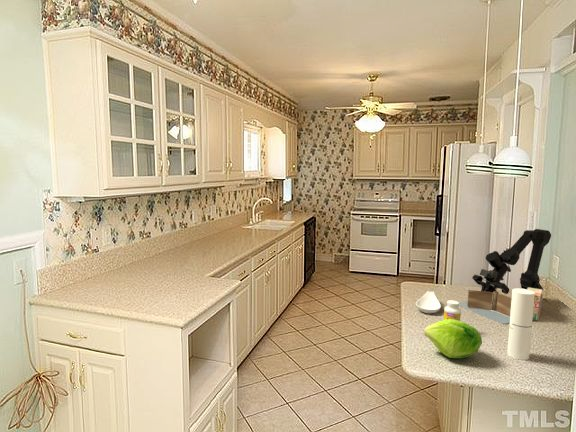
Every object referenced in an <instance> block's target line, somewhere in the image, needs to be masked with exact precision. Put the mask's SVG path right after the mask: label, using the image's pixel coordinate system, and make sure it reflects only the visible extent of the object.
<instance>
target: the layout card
mask: <svg viewBox="0 0 576 432" xmlns="http://www.w3.org/2000/svg"><path fill="white" fill-rule="evenodd" d="M467 303H468V301H463V302H459V306H460V307H462V308H464V309H466V310H469V311H472V312H474V313H476V314H477V315H481V316H483V317H485V318H487V319H490V320H492V321H494V322H497V323H499V324H501V325H507V324H508V325H509V324H510V317H509V316H506V315H504V314H501V313H499V312H496V311H493V310H492V309H483V308H473V307H467ZM459 306H458V307H459Z"/></svg>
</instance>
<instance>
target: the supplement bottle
mask: <svg viewBox="0 0 576 432" xmlns="http://www.w3.org/2000/svg"><path fill="white" fill-rule="evenodd" d="M459 303H460V302H459V301H457V300H452V299H450V300H447V302H446V304H447V305H446V306H445V307H444V308H443V310H444V311H443V320H446V319H454V320H458V321H461V318H462V317H461V315H462V310H461V308H460V307H459Z"/></svg>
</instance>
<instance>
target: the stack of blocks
mask: <svg viewBox="0 0 576 432" xmlns="http://www.w3.org/2000/svg"><path fill="white" fill-rule="evenodd" d="M527 290H531V291H533V292H535V296H534V308H533V319H532V321H539V319H540V316H541V311H542V309H543V299H544V298H543V294H544V291H543V290H542V289H535V288H529V287H528V288H527Z"/></svg>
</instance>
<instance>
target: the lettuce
mask: <svg viewBox="0 0 576 432" xmlns="http://www.w3.org/2000/svg"><path fill="white" fill-rule="evenodd" d="M423 331H424V332H423V334H424V336H425V337H426V338H428V339H429V340H430V341H431V343H432V344H433V345H434V347H435V348H436V349H437V350H438V351H440V352H441V353H442V354H443V355H444V356H446V357H448V358H450V359H464V358H468V357H471V356H473V355H474V354H475V353H477V352H478V351H479V350H480V348H481V345H482V344H483V340H482V336H481V335H482V334H480V332H479V331H478V329H476V327H474V326H472V325H471V324H468V323H467V322H463V321H461V320H460V321H458V320H454V319H446V320H444V319H443V320H439V321H437V322H434V323H432V324H430V325H428V326H426V327H425V328H424V330H423Z"/></svg>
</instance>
